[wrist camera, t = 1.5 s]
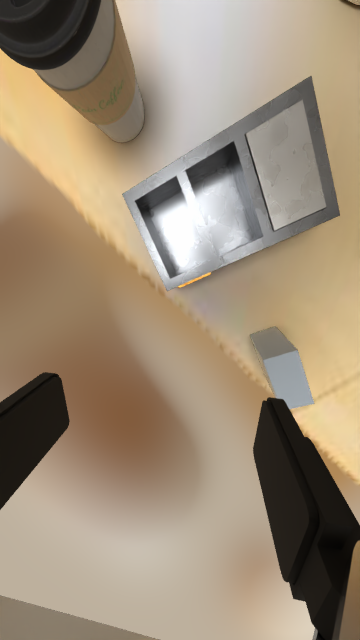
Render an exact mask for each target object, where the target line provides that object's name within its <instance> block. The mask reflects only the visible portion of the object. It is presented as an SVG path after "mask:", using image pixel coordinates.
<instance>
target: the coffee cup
mask: <svg viewBox="0 0 360 640" xmlns="http://www.w3.org/2000/svg"><path fill="white" fill-rule="evenodd" d="M0 48H1V50H2V51H3V52H5V53H6V54H7V55H8V56H9V57H10V58H11V59H13V60H14V61H16V62H17V63H19V64H21V65H23V66H25V67H28V68H31V69H33V70H34V71H35V72H36V73H37V74H38V76H39V77H40V78H41V79H42V80H43V81H44V82H45V83H46V84H47V85H48V86H49V87H51V88H52V89H53V90H54V91H55V92H56V93H57V94H59V95H60V96H61V97H62V98H63V99H64V100H65V101H67V102H68V103H69V104H70V105H71V106H72V107H73V108H75V109H76V110H77V111H78V112H79V113H80V114H81V115H83V116H84V117H85V118H86V119H87V120H88V121H90V122H92V123H94V124H95V125H96V126H97V127H98V128H100V129H101V130H102V131H103V132H104V133H105V134H106V135H108V136H109V137H110V138H111V139H112V140H114V141H116V142H121V143H122V142H128V141H130V140H132V139H134V138H135V137H136V136H137V135H138V134H139V132H140V131H141V129H142V127H143V123H144V105H143V101H142V97H141V94H140V91H139V87H138V84H137V80H136V77H135V71H134V65H133V61H132V58H131V54H130V51H129V47H128V44H127V40H126V37H125V33H124V30H123V26H122V23H121V19H120V16H119V12H118V9H117V5H116V2H115V0H0Z"/></svg>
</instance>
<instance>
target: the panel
mask: <svg viewBox="0 0 360 640" xmlns="http://www.w3.org/2000/svg"><path fill="white" fill-rule="evenodd" d="M250 337H251V340H252V342H253V345H254V348H255V350H256V353H257V356H258V358H259V361H260V364H261V366H262V369H263V372H264V374H265V377H266V379H267V381H268V383H269V385H270V387H271V390H272V392H273V394H274V396H275V398H279V399H283V400H284V401H285V402H286V404H287V406H288V408H289V409H292V408H297V407H301V406H306V405H310V404H314V401H313V398H312V395H311V391H310V388H309V385H308V382H307V378H306V375H305V372H304V369H303V366H302V362H301V359H300V356H299V353H298V350H297V349H296V348H295V347H294V346H293V345H292V344H291V342H290V341H289V340H288V339H287V338H286V337H285V336H284V335H283V334H282V333H281V332H280V331H279V330H278V329H277V328H276V326H275V327H271V328H268V329H265V330H262V331H259V332H256V333H253V334H250Z"/></svg>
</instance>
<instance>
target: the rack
mask: <svg viewBox="0 0 360 640" xmlns="http://www.w3.org/2000/svg"><path fill="white" fill-rule="evenodd" d="M122 195H123V197H124V199H125V202H126V204H127V206H128V208H129V210H130V212H131V214H132V217H133V219H134V221H135V223H136V225H137V227H138V230H139V232H140V234H141V236H142V238H143V240H144V243H145V245H146V247H147V249H148V251H149V253H150V256H151V258H152V260H153V262H154V264H155V266H156V268H157V271H158V273H159V275H160V277H161V279H162V281H163V284H164V286H165V288H166V290H167V291H169V290H171V289H173V288H175V287H178V288H180V287H183V286H185V285H187V284H190V283H192V282H194V281H196V280H199V279H201V278H203V277H206V276H208V275H210V274H211V272H212V271H214V270H216V269H219V268H221V267H223V266H226V265H228V264H230V263H232V262H235V261H237V260H239V259H242V258H244V257H246V256H248V255H251V254H253V253H255V252H257V251H260V250H262V249H264V248H267V247H269V246H271V245H273V244H276V243H278V242H280V241H283V240H285V239H287V238H289V237H292V236H294V235H296V234H299V233H301V232H303V231H305V230H308V229H310V228H312V227H314V226H317V225H319V224H321V223H324V222H326V221H328V220H330V219H333V218H335V217H337V216H340V212H339V207H338V203H337V198H336V193H335V188H334V183H333V178H332V174H331V169H330V164H329V159H328V154H327V149H326V145H325V140H324V135H323V130H322V125H321V120H320V115H319V111H318V106H317V101H316V96H315V91H314V86H313V82H312V77H311V76H310V77H308V78H307V79H305V80H303V81H302V82H300V83H299V84H297V85H295V86H294V87H292V88H291V89H289V90H287V91H286V92H284V93H283V94H281V95H279V96H278V97H276V98H275V99H273V100H271V101H270V102H268V103H267V104H265V105H263V106H262V107H260V108H259V109H257V110H255V111H254V112H252V113H251V114H249V115H248V116H246V117H244V118H243V119H241V120H240V121H238V122H236V123H235V124H233V125H232V126H230V127H228V128H227V129H225V130H224V131H222V132H220V133H219V134H217V135H216V136H214V137H212V138H211V139H209V140H208V141H206V142H204V143H203V144H201V145H200V146H198V147H196V148H195V149H193V150H192V151H190V152H189V153H187V154H185V155H184V156H182V157H181V158H179V159H177V160H176V161H174V162H173V163H171V164H169V165H168V166H166V167H165V168H163V169H161V170H160V171H158V172H157V173H155V174H153V175H152V176H150V177H149V178H147V179H145V180H144V181H142V182H141V183H139V184H138V185H136V186H134V187H133V188H131V189H130V190H128V191H126V192H125V193H123V194H122Z"/></svg>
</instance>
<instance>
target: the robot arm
mask: <svg viewBox="0 0 360 640" xmlns="http://www.w3.org/2000/svg"><path fill="white" fill-rule="evenodd" d="M348 1H350V2H352V3H354V4H357V5H360V0H348ZM68 425H69V416H68V411H67V406H66V400H65V395H64V390H63V385H62V380H61V378H60V377H59V375H58V374H55V373H46V372H45V373H42V374H40V375H39V376H37V377H36V378H35V379H33V380H32V381H30V382H29V383H28V384H26V385H25V386H23V387H22V388H20V389H19V390H17V391H16V392H15V393H13V394H12V395H10V396H9V397H7V398H6V399H4V400H3V401H2V402H0V509H1V508H2V507H3V506H4V505H5V503H6V502H7V501H8V500H9V498H10V497H11V496H12V495H13V494H14V492H15V491H16V490H17V489H18V488H19V486H20V485H21V484H22V483H23V481H24V480H25V479H26V478H27V477H28V475H29V474H30V473H31V472H32V471H33V469H34V468H35V467H36V466H37V465H38V463H39V462H40V461H41V459H42V458H43V457H44V456H45V455H46V453H47V452H48V451H49V450H50V449H51V447H52V446H53V445H54V444H55V443H56V441H57V440H58V439H59V437H60V436H61V435H62V434H63V433H64V431H65V430H66V429H67V428H68ZM253 453H254V459H255V463H256V468H257V472H258V476H259V480H260V485H261V489H262V493H263V498H264V502H265V506H266V510H267V515H268V519H269V523H270V528H271V532H272V536H273V540H274V545H275V549H276V553H277V558H278V562H279V566H280V570H281V574H282V577H283V579H284V581H286V582H289V583H290V587H291V591H292V595H293V599H297V600H301V601H305V602H306V605H307V608H308V611H309V615H310V619H311V622H312V624H313V625H314V627H315V631H314V635H313V640H360V525H359V523H358V522H357V520H356V518H355V516H354V514H353V513H352V511H351V509H350V508H349V506H348V504H347V502H346V500H345V499H344V497H343V495H342V493H341V492H340V490H339V488H338V487H337V485H336V483H335V481H334V479H333V478H332V476H331V474H330V472H329V471H328V469H327V467H326V465H325V463H324V462H323V460H322V458H321V456H320V455H319V453H318V451H317V449H316V448H315V446H314V444H313V443H312V441H311V440H310V439H309V438H308V437H304V436H303V434H302V432H301V430H300V428H299V426H298V424H297V423H296V421H295V419H294V417H293V415H292V413H291V411H290V410H289V408H288V406H287V404H286V402H285V401H284V400H283V399H279V398H268V399H267V401H263V402H262V407H261V413H260V417H259V422H258V427H257V433H256V437H255V442H254V447H253ZM0 640H159V639H155V638H151V637H148V636H144V635H141V634H137V633H134V632H130V631H127V630H123V629H120V628H116V627H113V626H109V625H106V624H102V623H98V622H95V621H91V620H88V619H84V618H80V617H76V616H73V615H70V614H66V613H62V612H58V611H55V610H51V609H48V608H44V607H41V606H37V605H33V604H30V603H26V602H22V601H19V600H15V599H11V598H7V597H4V596H0Z"/></svg>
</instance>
